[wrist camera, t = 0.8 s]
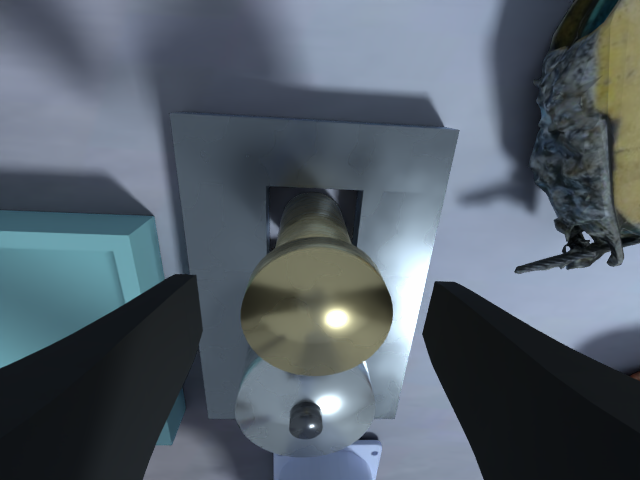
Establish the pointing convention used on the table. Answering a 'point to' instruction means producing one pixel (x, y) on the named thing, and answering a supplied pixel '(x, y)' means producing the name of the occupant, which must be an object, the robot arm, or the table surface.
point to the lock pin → (315, 295)
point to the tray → (73, 279)
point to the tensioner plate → (254, 244)
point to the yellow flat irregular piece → (591, 132)
